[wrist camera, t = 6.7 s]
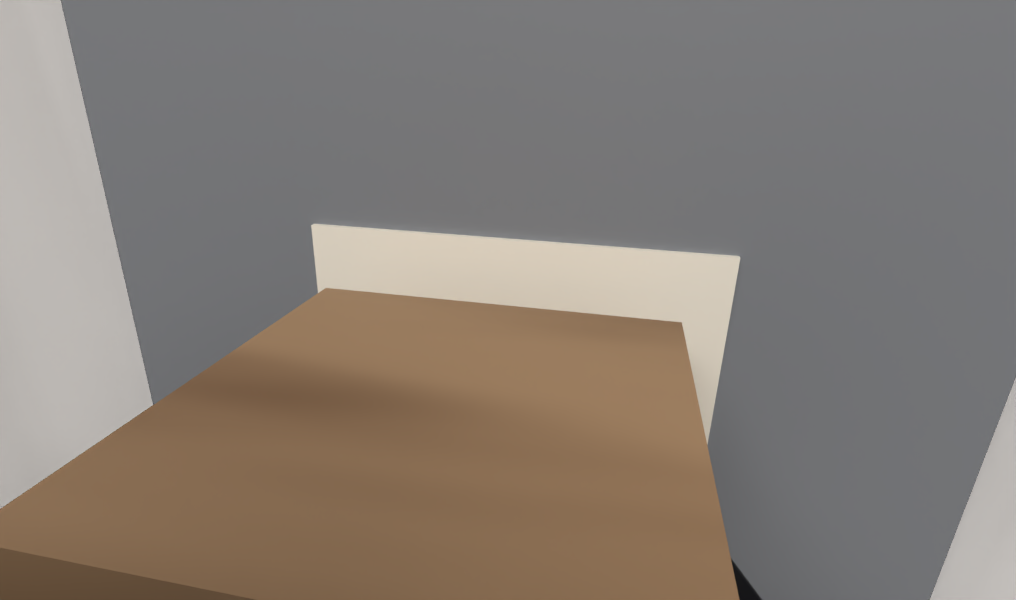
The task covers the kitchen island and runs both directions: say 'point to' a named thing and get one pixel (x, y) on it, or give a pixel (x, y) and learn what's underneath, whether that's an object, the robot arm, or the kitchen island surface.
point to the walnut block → (396, 468)
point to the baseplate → (611, 217)
